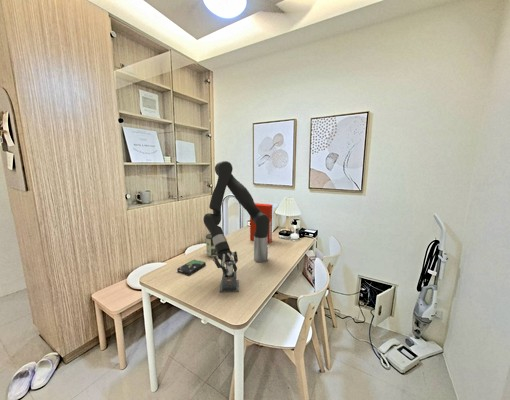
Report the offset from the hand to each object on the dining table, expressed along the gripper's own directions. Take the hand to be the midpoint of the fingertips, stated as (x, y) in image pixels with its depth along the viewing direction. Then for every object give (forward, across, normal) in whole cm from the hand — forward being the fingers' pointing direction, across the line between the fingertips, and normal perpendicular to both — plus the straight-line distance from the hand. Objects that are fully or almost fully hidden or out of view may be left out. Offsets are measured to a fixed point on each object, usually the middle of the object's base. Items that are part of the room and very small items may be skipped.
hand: (230, 272), depth 112 cm
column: (+4, 0, +7) cm, 8 cm away
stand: (+5, 0, +8) cm, 9 cm away
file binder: (-28, +55, +42) cm, 75 cm away
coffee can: (-26, +10, +40) cm, 49 cm away
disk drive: (-16, -11, +30) cm, 36 cm away
